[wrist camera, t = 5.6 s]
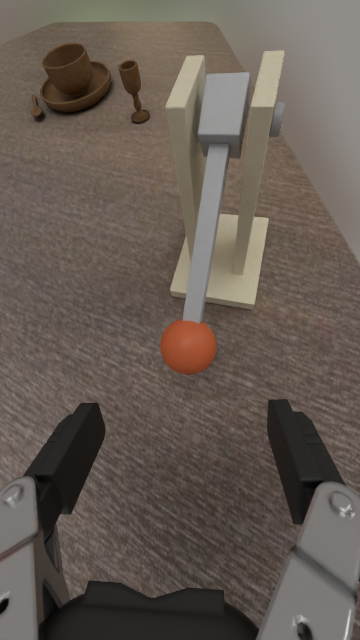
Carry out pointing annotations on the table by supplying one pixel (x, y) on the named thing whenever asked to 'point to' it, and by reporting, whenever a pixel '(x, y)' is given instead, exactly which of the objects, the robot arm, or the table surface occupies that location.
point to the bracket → (244, 229)
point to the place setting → (83, 81)
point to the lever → (208, 217)
